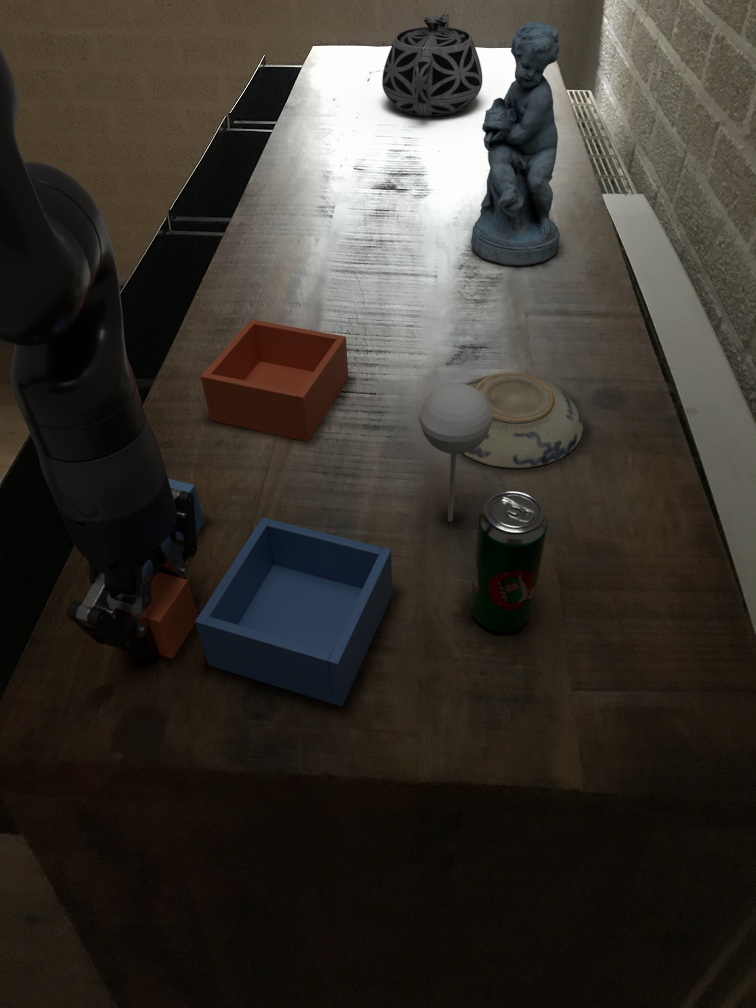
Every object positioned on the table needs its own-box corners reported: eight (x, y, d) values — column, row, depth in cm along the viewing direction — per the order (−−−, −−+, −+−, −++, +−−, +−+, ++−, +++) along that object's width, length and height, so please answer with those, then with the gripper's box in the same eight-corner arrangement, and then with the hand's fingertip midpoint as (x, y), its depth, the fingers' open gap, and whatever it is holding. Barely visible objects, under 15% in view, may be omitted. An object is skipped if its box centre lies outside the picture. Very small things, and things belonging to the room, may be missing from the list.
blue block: (139, 545, 73) (125, 506, 70) (164, 512, 76) (152, 474, 73) (181, 556, 72) (169, 518, 69) (204, 523, 75) (194, 484, 72)
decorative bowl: (611, 424, 84) (503, 364, 92) (617, 396, 82) (506, 337, 90) (517, 492, 77) (410, 421, 85) (521, 464, 75) (410, 394, 83)
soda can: (486, 580, 69) (497, 478, 61) (540, 602, 67) (559, 501, 59) (459, 620, 66) (467, 520, 58) (515, 645, 64) (532, 545, 56)
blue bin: (208, 665, 64) (194, 621, 60) (270, 562, 71) (262, 516, 67) (342, 707, 61) (337, 664, 57) (392, 594, 68) (391, 549, 64)
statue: (472, 288, 112) (490, 125, 87) (462, 168, 122) (476, -9, 97) (559, 284, 112) (602, 120, 87) (542, 165, 121) (577, -14, 96)
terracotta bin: (210, 420, 86) (200, 376, 82) (257, 361, 94) (250, 318, 90) (308, 442, 83) (303, 397, 79) (348, 379, 91) (346, 336, 87)
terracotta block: (126, 644, 65) (110, 606, 62) (154, 604, 68) (140, 566, 65) (172, 659, 64) (159, 621, 61) (199, 617, 67) (188, 579, 64)
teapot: (489, 80, 164) (495, -4, 154) (471, 134, 143) (476, 41, 133) (399, 76, 168) (398, -6, 157) (368, 129, 146) (365, 38, 136)
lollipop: (452, 488, 78) (459, 359, 67) (496, 521, 74) (510, 390, 64) (404, 518, 75) (404, 389, 64) (448, 553, 72) (455, 423, 61)
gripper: (120, 406, 60) (167, 557, 72) (-6, 538, 50) (73, 686, 62) (208, 425, 58) (242, 577, 70) (95, 567, 48) (156, 714, 60)
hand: (162, 628), depth 66 cm, fingers open, 4 cm apart
